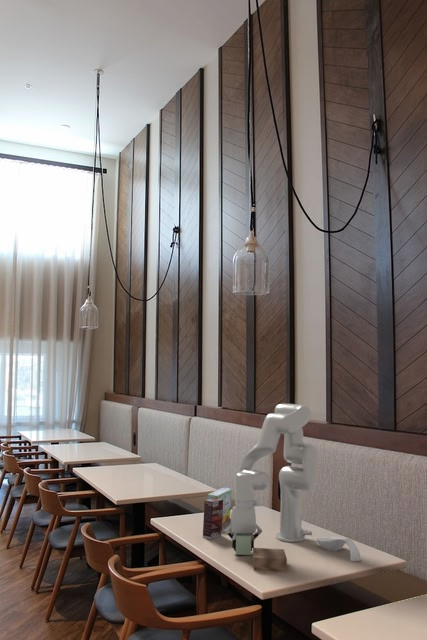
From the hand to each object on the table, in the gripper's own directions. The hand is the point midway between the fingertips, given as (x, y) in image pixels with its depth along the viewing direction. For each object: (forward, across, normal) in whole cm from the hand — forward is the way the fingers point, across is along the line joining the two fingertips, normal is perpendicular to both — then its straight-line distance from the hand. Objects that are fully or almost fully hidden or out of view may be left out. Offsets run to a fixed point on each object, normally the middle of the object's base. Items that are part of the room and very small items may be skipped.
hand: (242, 549), depth 225 cm
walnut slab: (+2, -9, +14) cm, 17 cm away
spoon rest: (+3, -41, -5) cm, 41 cm away
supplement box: (+2, +11, -24) cm, 26 cm away
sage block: (+1, 0, 0) cm, 1 cm away
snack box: (+2, +7, -49) cm, 49 cm away
